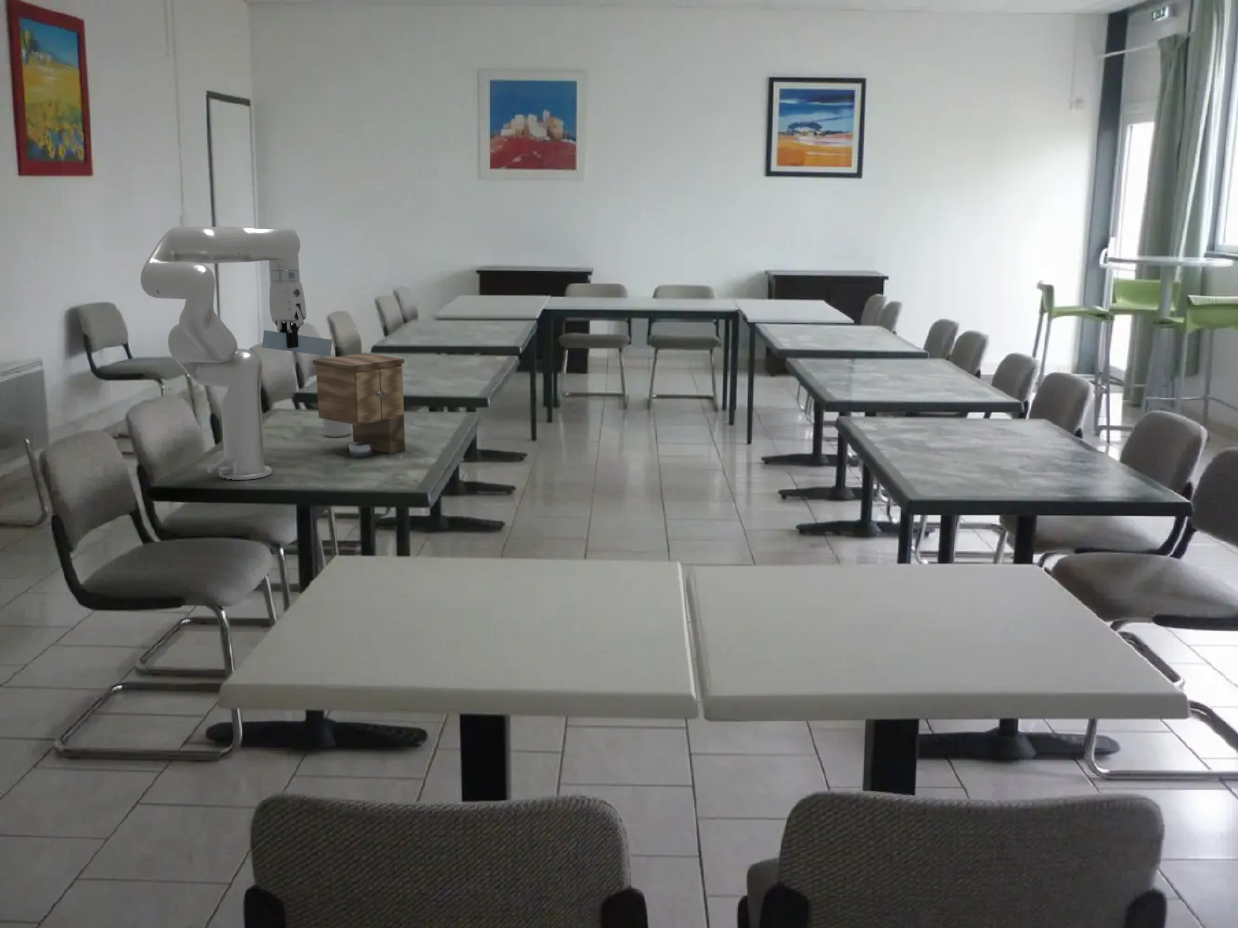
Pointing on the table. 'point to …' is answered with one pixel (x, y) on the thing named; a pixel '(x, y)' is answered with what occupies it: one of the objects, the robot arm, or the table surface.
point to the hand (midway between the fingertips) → (289, 346)
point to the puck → (360, 449)
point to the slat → (304, 343)
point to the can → (336, 428)
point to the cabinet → (364, 397)
